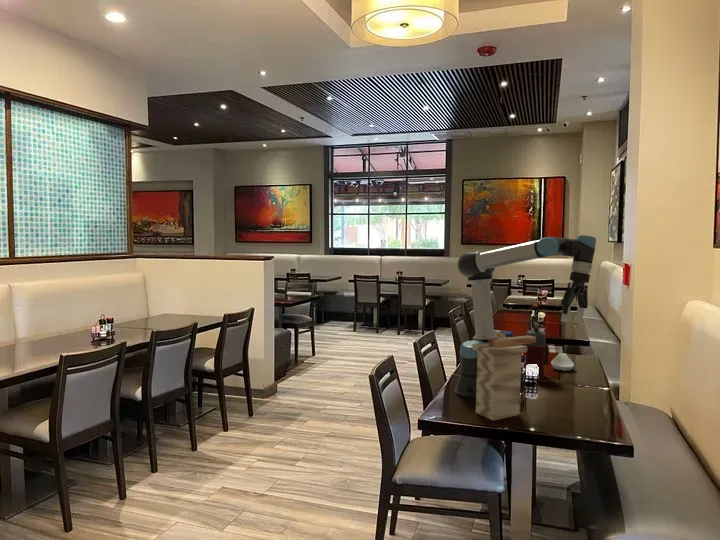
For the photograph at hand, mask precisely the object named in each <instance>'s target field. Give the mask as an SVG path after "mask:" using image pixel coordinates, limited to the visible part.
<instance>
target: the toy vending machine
mask: <svg viewBox="0 0 720 540" xmlns="http://www.w3.org/2000/svg"><path fill="white" fill-rule="evenodd" d="M539 328H540V323H539V322H534V326H533V330H530V329H528V330H527V333H526V336H527V335H529V336H534V337H536V343H530V344H525V346H527V352H526V365H527V364H537V365H538V367H539V378H540V379H545V378H544V377H545V366H549V365H550V347H549V344H548V343H546V339H547V338H546V335H547V333H546V331H543V330H542V331H541V330H540V329H539ZM526 365H525V366H526ZM540 379H539V380H540Z"/></svg>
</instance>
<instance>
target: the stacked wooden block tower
mask: <svg viewBox="0 0 720 540" xmlns="http://www.w3.org/2000/svg"><path fill="white" fill-rule="evenodd" d="M472 349H473V350H476V351H478V356H477V386H476V398H475V414H478V415H480V416H482V417H484V418H487V419H489V420H490V421H497V420H502V419H507V417H508V418H512V416H513V417H518V416H520V408H521V407H520V405H521V404H520V403H521V402H520V401H521V377H522V376H521V375H522V367H521V356H522V352H527V346H526V345H525V344H521V345H512V346H503V347H493V346H489V343H481V344H472ZM517 415H518V416H517Z"/></svg>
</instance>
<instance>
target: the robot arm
mask: <svg viewBox="0 0 720 540" xmlns="http://www.w3.org/2000/svg"><path fill="white" fill-rule="evenodd" d="M596 245H597V238H596V237H595V236H591V235H586V234H585V235H583V234H579V235H577V237H576V238H575V239H572V238H566V237H559V236H548V237H543V238H541V239H538V240H532V241H527V242H524V243H519V244H515V245H510V246H505V247H502V248H498V249H494V250H493V249H492V250H488V251H482V250H481V251H480V250H478V251H469V252H466V253H465V252H464V253H463V254H461V255H460V257H459V258H458V261H457V269H458V272H460V274H462V275H463V276H464V277H467V282H469V284H471V293H472V295H471V296H472V305H473V307H472V308H473V317H474V329H475V335H473V337H472V340H467V341H464V342H462V343H461V345H460V349H459V377H458V379H457V383H456V385H455V386H454V387H455V389H454V393H455V394H456V395H457V396H460V397H463V398H469V399H476V386H477V356H478V351H476V350H473V349H472V344H481V343H489V339H498V336H497V335H496V334H495V333H494V330H495V328H494V317H493V316H494V315H493V305H492V294H491V292H492V291H491V282H492V280H493V273H494V271H495V269H496V268H498V267H503V266H509V265H513V264H517V263H523V262H528V261H532V260H536V259H542V258H546V257H552V256H554V257H555V256H563V257H570V258H572V262H571V263H572V264H571V272H570V275H569V280H570V281H572V282H570V281H569V282H568V284H567V287H566V290H565V292H564V294H563V297H562V299H561V301H560V305H561V306H562V310H561V311H562V312H561V315H560V316H561V318H560V322H561V323H569V318H570V314H571V313H570V312H571V304H572V303H573V301H574V300H575V298H576V299H577V303H578V306H577V308H576V314H575V320H574V323H578V324H582V323H583V320H584V314H585V309H588V307H589V305H588V303H589V302H588V300H589V299H588V289H589V286H588V285H587V284H589V282H590V279H591V275H590V273H591V272H592V268H593V260H594V255H595V251H596Z"/></svg>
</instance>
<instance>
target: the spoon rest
mask: <svg viewBox="0 0 720 540" xmlns="http://www.w3.org/2000/svg"><path fill="white" fill-rule="evenodd" d="M550 364H551V366H552V368H554V369H555V370H557V371H560V370H562V372H568V371H571V370H572V369H573V368H574V367H575V363H574V362H573V361H572V359H571V358H570V357H569V356H568V354H567V353H563V352H559V353H558V354H557V356H555V357H554V358H553V359H552V360H551V362H550Z"/></svg>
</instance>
